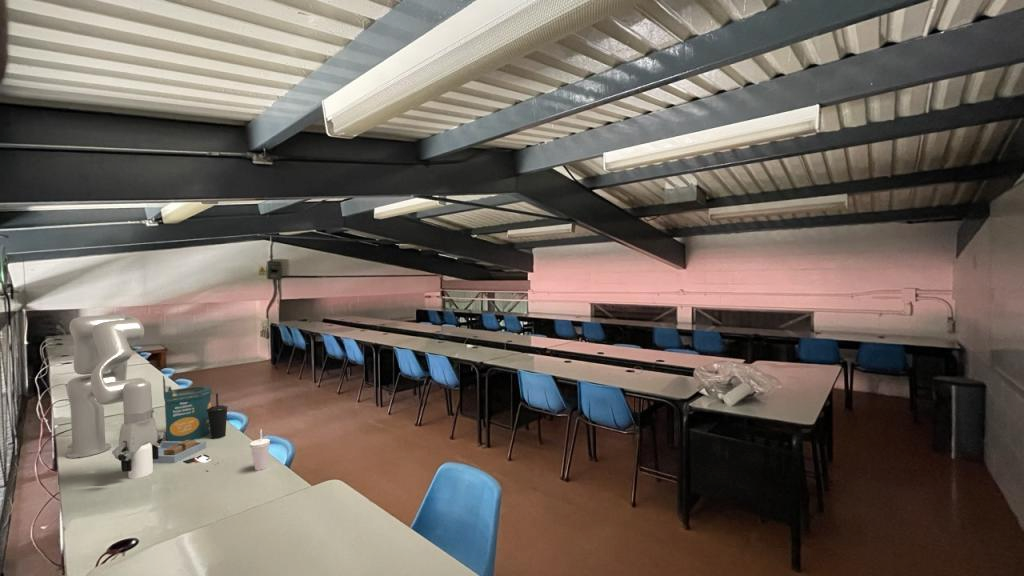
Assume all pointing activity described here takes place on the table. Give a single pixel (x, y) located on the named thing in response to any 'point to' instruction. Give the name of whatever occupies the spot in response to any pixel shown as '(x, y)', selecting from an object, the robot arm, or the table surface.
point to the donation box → (187, 412)
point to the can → (141, 462)
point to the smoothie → (260, 452)
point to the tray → (180, 455)
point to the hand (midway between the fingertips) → (140, 464)
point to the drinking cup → (217, 420)
